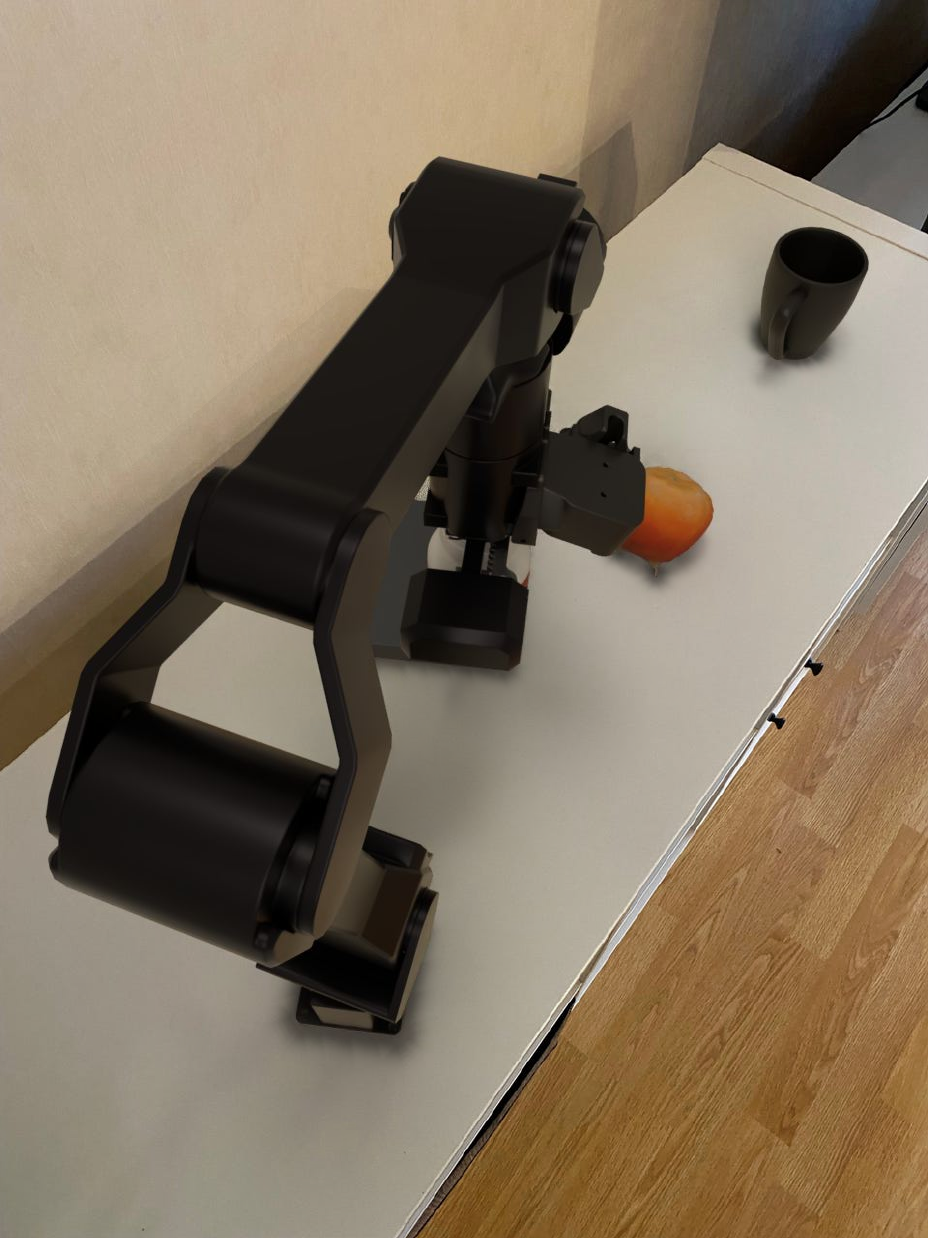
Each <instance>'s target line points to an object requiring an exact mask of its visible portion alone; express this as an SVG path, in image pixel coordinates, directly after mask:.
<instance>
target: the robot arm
mask: <svg viewBox="0 0 928 1238" xmlns="http://www.w3.org/2000/svg"><path fill="white" fill-rule="evenodd" d="M586 197H587V196H586V194H585V192H584V190H583V189H582V188H581V187H580V188H579V187H578V181H576V180H573V179H572V180H571V179H568V178H563V177H559V176H554V175H550V174H546V173H542V172H540V173H539V174H538V176H537V177H532V176H527V175H523V174H519V173H515V172H510V171H506V170H501V169H498V168H493V167H489V166H484V165H480V164H476V163H471V162H468V161H463V160H458V159H454V158H451V157H446V156H439V155H438V156H437V157H435V158H433V159H432V160H431V161H430V162H428V163H427V164H426V165H425V167H424V168H423V169H422V171H421V172H420V174H419V175H418V177H417V178H416V180H414V181H411V182H410V183H409V184H408V185H407V186H406V188H404V191H402V192H401V193H400V195H399V198H398V199H399V200H398V206H397V207H395V208H394V209H393V211H392V212H391V213H390V218H389V221H388V230H387V231H388V237H389V239H390V241H391V242H390V243H391V248H390V249H391V250H390V252H391V253H390V254H391V256H390V257H391V261H392V267H393V269H392V272H391V274H390V275H389V277H388V278H387V280H386V281H385V282H384V283H383V285H382V286H381V287H380V289H378V291H377V292H376V293H375V295H374V296H373V297H372V298H371V300H370V301H369V302H368V303H367V305H366V306H365V307H364V309H362V311H361V312H360V313H359V314H358V316H357V317H356V319H355V320H353V322H352V323H351V324H350V325H349V327H348V328H347V330H346V331H345V332H344V334H343V335H342V336H341V337H340V339H339V340H338V341H337V342H336V343H335V344H334V345H333V347H332V348H331V350H330V351H329V352H328V353H327V354H326V356H325V357H324V358H323V359H322V361H321V362H320V363H319V365H317V367H316V368H315V369H314V371H313V372H312V373H311V374H310V375H309V377H308V378H307V379H306V380H305V382H304V383H303V384H302V385H301V387H300V388H299V389H298V390H297V392H295V394H294V395H293V396H292V398H291V399H290V400H289V401H288V403H287V404H286V406H284V408H283V409H282V410H281V412H280V413H279V414H278V415H277V416H276V418H275V419H274V420H273V421H272V423H271V424H270V425H269V427H267V429H266V430H265V431H264V433H263V434H262V435H261V436H260V437H259V439H258V440H257V442H255V444H254V445H253V447H252V448H251V449H250V450H249V451H248V453H247V454H246V455H245V456H244V457H243V459H242V460H241V461H240V462H239V463H238V464H237V465H236V466H233V465H228V464H224V465H217V466H214V467H213V468H212V469H211V470H210V471H208V472H207V473H205V475H203V476H202V478H201V479H200V480H199V482H198V484H197V485H196V487H195V489H194V491H193V492H192V494H191V495H190V497H189V499H188V501H187V505H186V507H185V510H184V512H183V516H182V518H181V520H180V521H181V522H180V524H179V528H178V533H177V536H176V540H175V542H174V543H175V544H174V547H173V551H172V555H171V559H170V562H169V566H168V569H167V572H166V573H167V574H166V577H165V580H164V582H163V583H162V584H161V585H160V586H159V588H158V589H157V590H156V591H154V593H153V594H152V595H151V596H149V598H148V599H147V600H146V601H145V602H144V603H143V604H142V605H141V606H140V607H139V608H138V609H137V610H136V611H135V612H134V613H132V615H131V616H130V617H129V618H128V619H127V620H126V622H124V623H123V625H121V626H120V628H118V630H117V631H115V632H114V633H113V634H112V636H111V637H110V638H109V639H108V640H107V641H105V643H104V644H103V645H102V646H101V647H100V648H99V649H98V650H97V651H96V652H95V653H94V654H93V655H92V656H91V657H90V658H89V659H88V660H87V662H86V663H85V665H84V667H83V669H82V670H81V673H80V675H79V679H78V683H77V687H76V690H75V695H74V698H73V703H72V705H71V710H70V713H69V716H68V721H67V724H66V728H65V731H64V736H63V740H62V744H61V746H60V751H59V754H58V757H57V762H56V767H55V769H54V774H53V777H52V782H51V785H50V789H49V792H48V797H47V805H46V812H45V821H46V826H47V830H48V833H49V834H50V835H51V836H53V838H55V839H56V840H57V846H56V847H55V848H54V849H52V851H51V852H50V854H48V858H47V863H48V868H49V871H50V873H51V875H52V877H53V879H54V880H55V881H57V882H58V883H60V884H61V885H62V886H64V887H66V888H68V889H71V890H73V891H76V892H78V893H81V894H83V895H86V896H88V897H91V898H94V899H95V900H98V901H101V902H103V903H106V904H108V905H111V906H114V907H116V908H119V909H121V910H123V911H126V912H128V913H130V914H133V915H136V916H139V917H141V918H143V919H147V920H149V921H151V922H154V923H156V924H159V925H161V926H163V927H166V928H169V929H171V930H174V931H175V932H179V933H180V934H181V933H182V934H184V935H186V936H188V937H191V938H194V939H196V940H198V941H201V942H204V943H207V944H209V945H212V946H214V947H216V948H219V949H222V950H224V951H226V952H229V953H231V954H234V955H237V956H240V957H242V958H244V959H247V960H249V961H251V962H254V963H255V969H257V970H259V971H262V972H264V973H267V974H270V975H271V976H274V977H277V978H279V979H283V980H285V981H287V982H290V983H292V984H295V985H298V986H300V990H299V996H298V1001H297V1006H296V1011H295V1019H296V1021H297V1023H299V1025H303V1026H308V1027H317V1028H324V1029H325V1028H326V1029H333V1030H338V1031H339V1030H342V1031H346V1032H347V1031H348V1032H356V1033H362V1034H363V1033H364V1034H371V1035H377V1036H386V1037H387V1036H388V1037H397V1036H398V1035H399V1034H400V1033H401V1032H402V1028H403V1023H404V1022H403V1021H404V1016H405V1015H404V1014H405V1009H406V1005H407V1003H408V999H409V998H410V995H411V992H412V990H413V988H414V984H415V982H416V979H417V976H418V973H419V971H420V969H421V966H422V963H423V961H424V958H425V955H426V952H427V949H428V947H429V944H430V941H431V938H432V933H433V929H434V922H435V917H436V913H437V908H438V903H439V899H440V892H439V891H437V890H434V889H432V888H431V885H432V883H433V880H434V879H433V877H434V873H433V870H432V867H431V866H430V865H431V863H432V860H433V858H434V853H432V852H430V851H428V849H427V848H426V847H424V845H422V844H421V843H419V842H417V841H413V840H411V839H407V838H406V837H403V836H399V835H397V834H394V833H391V832H389V831H386V830H384V829H383V830H382V829H381V828H378V827H375V826H372V825H370V822H371V819H372V815H373V812H374V808H375V805H376V803H377V799H378V795H379V792H380V788H381V785H382V782H383V778H384V775H385V773H386V769H387V765H388V761H389V758H390V754H391V752H392V748H393V745H392V744H393V734H392V729H391V725H390V720H389V715H388V711H387V707H386V702H385V698H384V694H383V689H382V684H381V681H380V676H379V672H378V668H377V667H378V666H377V663H376V657H375V656H374V653H373V649H372V644H371V640H370V636H369V625H370V622H371V618H372V615H373V612H374V608H375V605H376V601H377V598H378V594H379V591H380V588H381V584H382V581H383V577H384V574H385V569H386V565H387V561H388V557H389V552H390V543H391V538H392V536H393V535H394V533H395V531H396V530H397V528H398V526H399V525H400V523H401V521H402V519H403V518H404V516H405V514H406V513H407V511H408V509H409V508H410V506H411V504H412V503H413V501H414V500H416V498H417V496H418V494H419V492H420V491H421V489H422V488H423V486H424V484H425V483H426V481H427V479H428V477H429V487H428V488H427V494H426V498H425V501H426V503H425V508H424V513H423V520H424V526H428V527H437V528H446V529H445V537H446V538H447V539H449V540H466V544H465V550H464V556H463V563H462V567H455V571H450V570H441V569H432V568H426V569H424V570H422V571H420V572H418V573H416V574H413V575H411V576H410V581H409V586H408V591H407V596H406V601H405V606H404V611H403V617H402V622H401V627H400V639H401V649H402V650H403V651H404V653H405V654H406V655H407V656H408V657H409V659H411V660H410V661H412V660H420V661H419V662H421V661H428V662H427V663H430V662H436V663H435V664H440V663H444V664H443V665H449V664H452V665H451V666H458V665H460V666H459V667H467V666H469V668H476V667H477V669H485V670H486V669H487V670H494V671H501V672H510V671H511V670H513V669H514V668H515V667H517V666H519V665H520V664H521V661H522V660H521V659H522V653H523V645H524V637H525V636H524V635H525V627H526V619H527V610H528V601H529V595H530V594H529V593H530V589H527V587H524V586H523V585H522V584H520V583H519V582H517V576H516V574H515V573H514V572H513V571H511V570H509V569H508V568H507V566H506V565H507V557H508V550H509V542H510V536H512V537H511V542H512V543H514V544H522V545H530V547H531V546H532V547H536V545H537V538H538V537H537V536H538V530H541V531H543V533H544V534H546V535H547V536H549V537H551V538H554V539H556V540H560V541H562V542H565V543H568V544H571V545H574V546H577V547H580V548H583V549H586V550H588V551H590V553H591V554H593V555H596V556H599V557H605V558H606V557H609V556H612V555H613V554H614V553H616V552H617V551H616V550H617V549H618V548H619V547H620V546H621V545H622V543H623V542H624V541H625V540H626V539H627V538H628V537H629V536H630V535H631V534H632V533H633V532H634V531H635V530H636V529H637V527H638V526H639V525H640V524H641V523H642V522H643V520H644V513H645V489H646V470H645V468H646V467H645V465H644V464H643V462H642V461H641V448H640V447H637V446H633V447H632V448H631V449H630V447H629V445H628V442H629V441H628V440H629V421H630V420H629V419H630V414H629V413H628V412H627V411H625V410H622V409H621V408H620V409H619V408H618V407H615V406H612V405H610V404H605V405H603V406H601V407H599V408H597V409H595V410H593V411H591V412H589V413H587V414H585V415H583V416H582V417H580V418H579V419H578V420H577V421H576V422H575V423H573V424H572V426H571V427H564V428H561V429H560V430H559V431H558V432H556V431H553V430H551V422H552V413H553V411H552V410H551V402H552V394H553V390H552V389H551V388H550V381H551V373H552V364H553V358H554V357H557V356H559V355H560V354H561V353H562V352H564V351H565V349H566V347H567V346H568V345H569V344H570V342H571V339H572V337H573V335H574V333H575V330H576V329H577V326H578V325H579V322H580V319H581V317H582V315H583V312H584V311H585V310H588V309H589V308H590V307H591V306H592V304H593V301H594V299H595V296H596V295H597V292H598V290H599V287H600V285H601V284H602V280H603V277H604V272H605V261H606V259H607V253H608V245H607V243H606V239H605V236H604V233H603V231H602V228H601V226H600V224H599V222H598V221H597V220H596V218H595V217H594V216H593V215H592V214H591V212H590V211H589V210H587V208H585V207H584V204H585V202H586ZM488 542H490V547H491V548H490V549H489V553H490V554H489V556H488V559H489V560H488V564H487V565H489V566H487V570H482V567H483V560H484V553H485V546H486V543H488ZM490 573H491V575H490ZM224 603H226V604H230V605H232V606H235V607H239V608H242V609H244V610H248V611H250V612H251V611H252V612H253V613H257V614H260V615H263V616H266V617H269V618H273V619H275V620H279V621H281V622H284V623H287V624H291V625H293V626H297V627H300V628H303V629H307V630H308V631H312V645H313V649H314V653H315V658H316V663H317V667H318V671H319V676H320V680H321V684H322V688H323V693H324V698H325V702H326V708H327V711H328V712H327V713H328V715H329V719H330V720H329V721H330V725H331V730H332V733H333V737H334V742H335V746H336V747H335V748H336V750H337V756H338V760H339V761H338V767H337V768H334V767H332V766H329V765H327V764H323V763H320V762H317V761H315V760H312V759H310V758H308V757H307V758H306V757H303V756H302V755H298V754H295V753H293V752H289V751H286V750H284V749H281V748H278V747H275V746H272V745H270V744H268V743H265V742H262V741H258V740H256V739H254V738H250V737H247V736H245V735H242V734H240V733H236V732H233V731H230V730H228V729H225V728H222V727H220V726H218V725H217V726H216V725H214V724H211V723H208V722H205V721H202V720H199V719H197V718H195V717H191V716H188V715H185V714H184V713H183V714H182V713H180V712H177V711H174V710H172V709H169V708H166V707H163V706H161V705H158V704H155V703H152V699H153V695H154V692H155V688H156V684H157V680H158V677H159V673H160V670H161V668H162V665H164V663H165V662H166V661H167V660H168V659H169V658H170V657H171V656H173V654H174V653H175V652H176V651H177V650H178V649H179V648H180V647H181V646H182V645H183V644H184V643H185V642H186V641H188V639H189V638H190V637H191V636H192V635H193V634H194V633H195V632H196V631H197V630H198V629H199V628H201V626H202V625H203V624H204V623H205V622H206V621H207V620H208V618H210V617H211V616H212V615H213V614H214V613H215V612H216V611H217V610H218V609H219V608H220V607H221V606H222V605H223V604H224ZM303 1013H307V1017H306V1018H304V1019H303V1018H302V1017H301V1016H302V1014H303ZM393 1024H394V1025H395V1024H396V1026H397V1027H396V1029H395V1030H391V1028H390V1026H391V1025H393Z"/></svg>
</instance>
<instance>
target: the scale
mask: <svg viewBox="0 0 928 1238" xmlns="http://www.w3.org/2000/svg"><path fill="white" fill-rule="evenodd" d="M425 503H426V500H419V499H414V501H413V503H412V504H411V506H410V508H409V509H408V511H407V513H406V514H405V516H404V518H403V519H402V521H401V523H400V525H399V526H398V528H397V530H396V531H395V533H394V535H393V536H392V538H391V543H390V552H389V557H388V561H387V565H386V569H385V574H384V577H383V581H382V584H381V588H380V591H379V594H378V598H377V601H376V605H375V608H374V612H373V615H372V618H371V622H370V625H369V636H370V640H371V644H372V649H373V653H374V657H375V658H376V657H378V658H384V659H385V658H386V659H395V660H405V661H412V662H422V663H432V664H437V663H436V662H428V661H420V660H411V659H409V657H408V656H407V655H406V654H405V653H404V651H403V650H402V649H401V639H400V627H401V622H402V617H403V611H404V606H405V601H406V596H407V591H408V586H409V581H410V576H411V575H413V574H416V573H418V572H420V571H422V570H424V569H426V568H428V563H427V558H428V546H429V543H430V540H431V538H432V536H433V534H434V532H435V531H436V529H437V527H428V526H424V520H423V513H424V508H425ZM439 664H441V665H445V664H444V663H439ZM448 665H450V666H453V665H452V664H448ZM457 666H458V667H461V666H460V665H457ZM466 667H469V666H466ZM469 668H470V667H469ZM475 668H477V667H475ZM477 669H478V668H477Z"/></svg>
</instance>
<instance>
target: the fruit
mask: <svg viewBox="0 0 928 1238" xmlns="http://www.w3.org/2000/svg"><path fill="white" fill-rule="evenodd" d="M645 470H646V489H645V513H644V520H643V522H642V523H641V524H640V525H639V526H638V527H637V529H636V530H635V531H634V532H633V533H632V534H631V535H630V536H629V537H628V538H627V539H626V540H625V541H624V542H623V543H622V545H621V546H620V547H619V548H618V549H617V550H616V551H615V552H619V551H622V552H623V551H624V552H628V553H630V554H632V555H634V556H637V557H639V558H641V559H642V560H644V561H645V562H647V563H648V564H649V566H651V567H652V568H653V569H654V577H656V578H657V577H658V572H659V566H660V565H661V564H663V563H668V562H672V561H673V560H674V559H675V558H678V557H681V555H683V554H684V553H686V552H687V551H689V550H690V549H691V548H692V547H693V546H694V545H695V544H696V543H697V542H698V541H699V540H700V539H701V538H702V537H703V535H705V533H706V531H707V530H708V528H709V527H710V525H711V524H712V521H713V519H714V512H715V508H714V504H713V499H712V498H711V496H710V494H709V493H708V492H707V491H706V490H704V488H703V487H702V486H701V484H699V482H697V481H695V480H694V479H693V478H691V477H690V476H689V475H688V474H686V473H685V472H683V471H681V470H680V471H679V470H677V469H674V468H671V467H663V466H648V467H645Z"/></svg>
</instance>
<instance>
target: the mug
mask: <svg viewBox="0 0 928 1238" xmlns="http://www.w3.org/2000/svg"><path fill="white" fill-rule="evenodd" d="M773 248H774V249H773V250H772V254H771V257H770V259H769V263H768V265H767V269H766V271H765V276H764V281H763V286H762V292H761V300H760V340H761V343H762V345H763V346H764V347H765V349H766V350H767V351H768V354H769V355H770V357H771V358H773V359H774V360H779V361H780V360H783V359H786V360H795V361H797V360H803V359H807V358H809V357H811V356H813V355H814V354H815V353H816V352H817V351H818V349H819V348H820V347H821V346H822V345H823V344H824V343H825V342H826V341H827V339H828V338H829V337H830V336H831V335H832V334H833V333H834V331H836V329H838V326H839V325H840V324H841V323H842V321H843V320H844V319H845V317H846V315H848V312H849V311H850V309H851V307H852V306H853V304H854V302H855V300H856V298H857V296H858V293H859V292H860V290H861V288H862V285H863V283H864V281H865V278H866V276H867V274H868V271H869V267H870V266H869V265H870V260H869V256H868V253H867V252H866V251H865V249H864V248H863V246H862V245H861V244H860V243H859V242H858V241H856V240H855V239H853V238H852V237H850V236H849V235H847V234H845V233H843V232H840V231H837V230H834V229H831V228H827V227H821V226H805V227H799V228H798V227H797V228H795V229H792V230H790V231H788V232H786V233H784V234H783V235H782V236H781V237H779V238H778V240H777V242H776V243H775V245H774V247H773Z"/></svg>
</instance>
